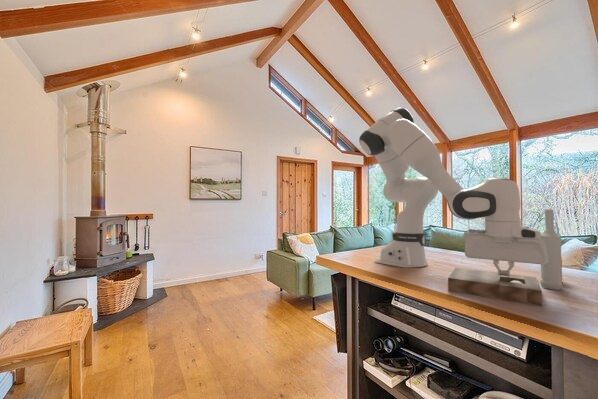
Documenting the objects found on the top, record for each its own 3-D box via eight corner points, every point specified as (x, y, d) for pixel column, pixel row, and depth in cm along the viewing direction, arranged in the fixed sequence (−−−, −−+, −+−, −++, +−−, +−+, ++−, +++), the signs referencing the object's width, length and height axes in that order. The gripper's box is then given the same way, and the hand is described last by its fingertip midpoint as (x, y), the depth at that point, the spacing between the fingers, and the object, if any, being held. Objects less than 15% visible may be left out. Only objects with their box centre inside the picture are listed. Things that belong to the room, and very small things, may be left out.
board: (448, 290, 85) (448, 277, 85) (455, 278, 97) (455, 267, 97) (542, 305, 71) (541, 290, 71) (536, 290, 84) (536, 277, 84)
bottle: (562, 287, 86) (560, 209, 87) (562, 291, 83) (560, 209, 83) (541, 284, 90) (538, 209, 90) (540, 287, 86) (537, 209, 87)
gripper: (462, 229, 87) (463, 272, 86) (548, 233, 74) (549, 283, 74) (464, 228, 92) (465, 268, 91) (545, 231, 79) (546, 278, 79)
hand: (503, 275), depth 83 cm, fingers closed
